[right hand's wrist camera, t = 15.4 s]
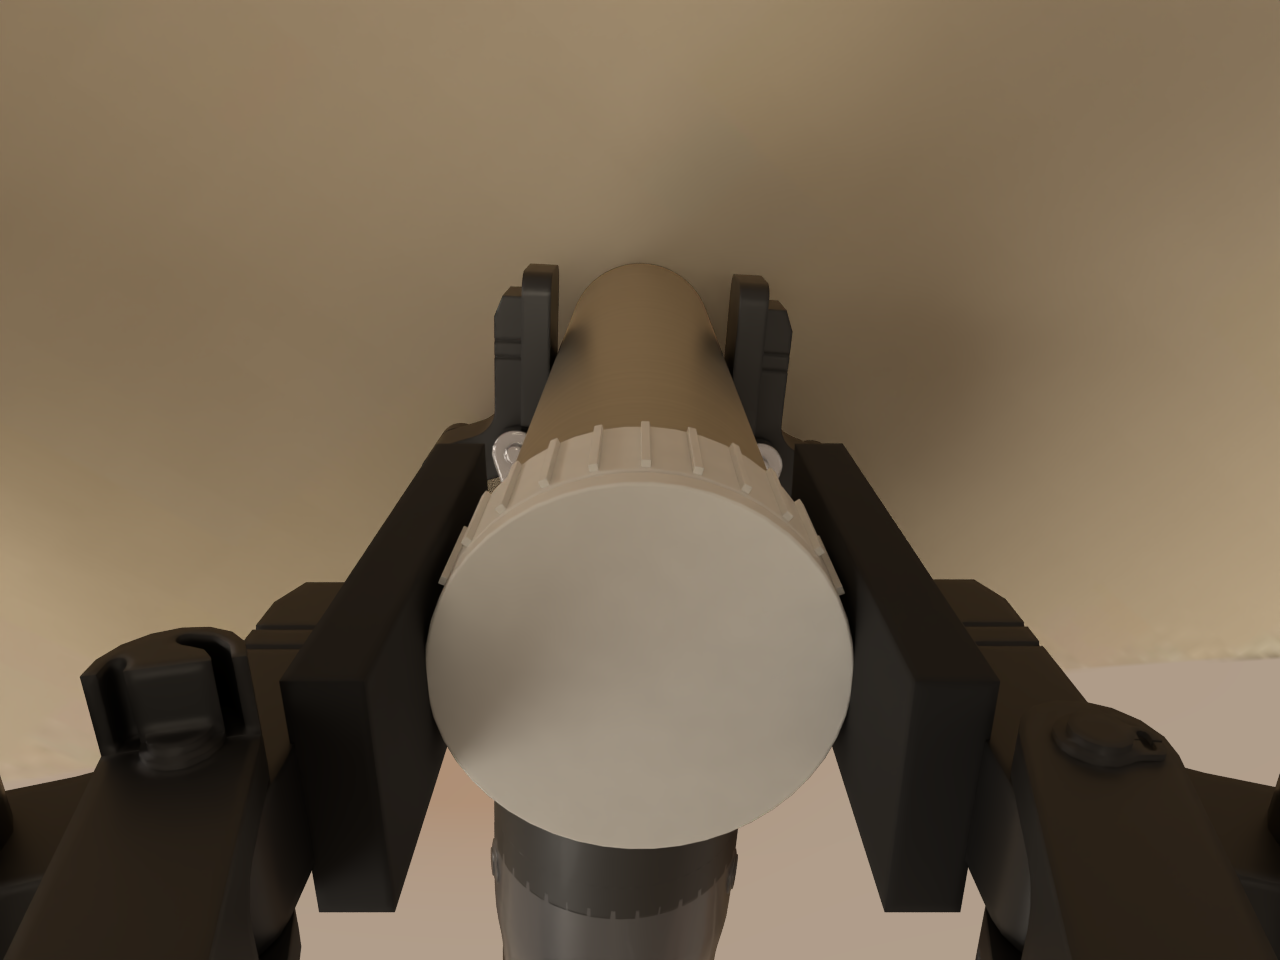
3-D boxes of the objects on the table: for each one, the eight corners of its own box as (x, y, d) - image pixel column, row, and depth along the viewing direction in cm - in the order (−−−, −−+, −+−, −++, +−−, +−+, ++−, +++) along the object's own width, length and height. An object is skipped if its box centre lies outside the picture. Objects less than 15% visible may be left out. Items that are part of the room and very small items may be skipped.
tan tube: (556, 279, 28) (405, 529, 10) (695, 249, 27) (798, 454, 10) (588, 412, 29) (507, 834, 11) (720, 386, 29) (847, 778, 11)
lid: (404, 460, 11) (356, 525, 9) (799, 382, 11) (832, 433, 9) (505, 775, 13) (484, 883, 11) (848, 718, 13) (884, 818, 11)
